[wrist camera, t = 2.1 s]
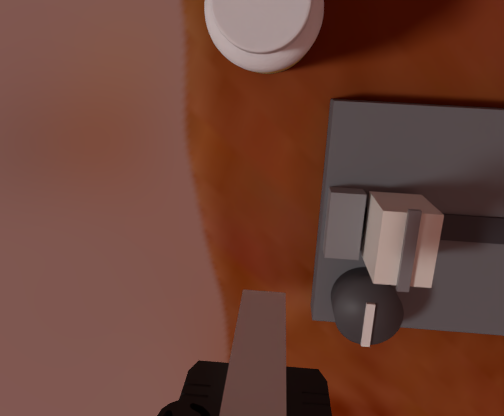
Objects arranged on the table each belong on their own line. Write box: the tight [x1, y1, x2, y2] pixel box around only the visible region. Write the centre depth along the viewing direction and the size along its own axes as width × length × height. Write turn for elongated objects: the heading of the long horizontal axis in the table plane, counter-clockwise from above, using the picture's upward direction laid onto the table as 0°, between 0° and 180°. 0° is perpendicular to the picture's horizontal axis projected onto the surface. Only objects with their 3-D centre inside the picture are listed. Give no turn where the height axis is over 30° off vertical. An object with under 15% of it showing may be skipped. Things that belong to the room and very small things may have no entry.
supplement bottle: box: [205, 0, 324, 74], centre depth 22 cm, size 5×5×10 cm
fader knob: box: [361, 191, 444, 292], centre depth 25 cm, size 4×3×4 cm
